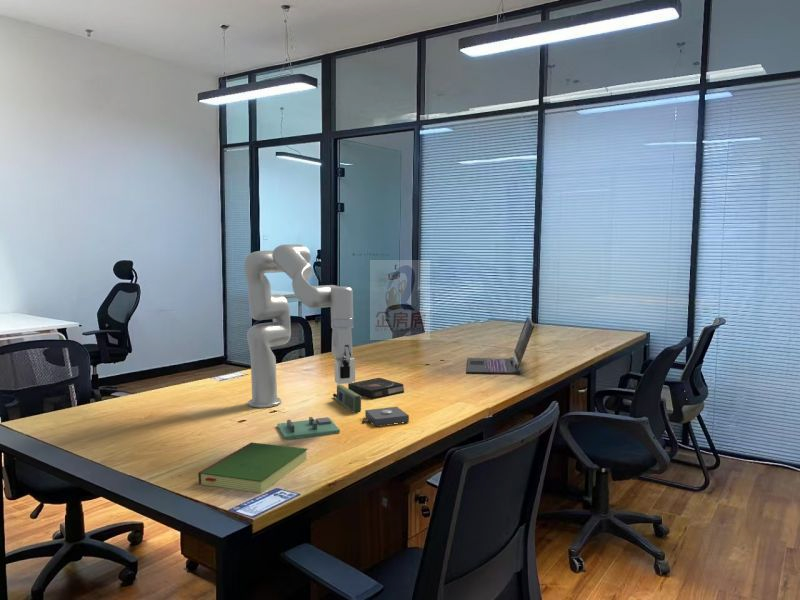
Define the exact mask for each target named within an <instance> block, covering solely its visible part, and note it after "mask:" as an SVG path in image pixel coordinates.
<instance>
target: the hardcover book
mask: <svg viewBox="0 0 800 600" xmlns="http://www.w3.org/2000/svg"><path fill="white" fill-rule="evenodd" d="M307 451H308V448H305V447H298V446H297V447H295V446H288V445H287V446H286V445H279V444H268V443H259V442H250V443H248V444H246V445H244V446H242V447H240V448H239V449H237V450H235V451H234V452H232V453H229V455H226V456H225V457H223V458H221V459H219V460H217V461H216V462H214V463H212V464H211V465H209V466H207V467H205V468H204V469H201V471H198V472H197V473H198V474H197V476H198V485H201V486H202V484H203V486H208V487H209V486H211V487H217V488H223V489H230V490H237V491H245V492H251V493H259V494H263V492H264V491H266V490H268V489H269V488H270V487H271V486H273V485H274V484H276V483H277V482H278V481H279V480H281V479H283V478H284V477H285V476H286V475H288V474H289V473H290V472H292V471H294V470H295V469H297V468H298V467H299V466H300V465H302V464H303V463H304V462H306V461H307Z"/></svg>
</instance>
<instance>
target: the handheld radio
mask: <svg viewBox="0 0 800 600" xmlns="http://www.w3.org/2000/svg"><path fill="white" fill-rule="evenodd" d="M332 396H333V397H334V398H336V402H338V403H339V404H341V405H342V406H344V407H345V408H346V409H348V410H349V409H350V410H349V411H351V412H352V411H353V412H352V413H354V414H358V412H360V413H361V411H362V396H360V395H358V394H357V393H355V392H353V391H351V390H350V389H348V387H346V386H344V385H342V384H337V383H336V393H333V394H332Z"/></svg>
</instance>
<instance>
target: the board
mask: <svg viewBox="0 0 800 600" xmlns="http://www.w3.org/2000/svg"><path fill="white" fill-rule="evenodd" d="M277 429H278V430H279V432H280V433H281V435H282V438H283V439H284V441H288V440H293V439H294V440H295V439H302V438H304V439H305V438H310V437H311V438H312V437H317V436H327V435H333V434H334V433H335V434H340V433H341V430H340V428H339V427H338V426H337V425H336V424H335V423H334V421H333V420H331V418H329V417H327V416H325V417H318V418H313V416H309V417H308V419H305V420H299V421H298V420H297V421H296V420H295V421H292V420H291V419H287V420H286V422H281V423H280V422H279V423H277ZM335 434H334V435H335Z"/></svg>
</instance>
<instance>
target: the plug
mask: <svg viewBox="0 0 800 600" xmlns="http://www.w3.org/2000/svg"><path fill="white" fill-rule="evenodd" d="M344 360H345V359H343V361H344ZM333 361H334V365H333V366H334V382H335V383H336V385H337V384H340V385H342V384H345V385H346V384H349V383H354V382H356V358H355V357H350V378H343V379H341V378H340V367H341V358H333Z"/></svg>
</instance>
